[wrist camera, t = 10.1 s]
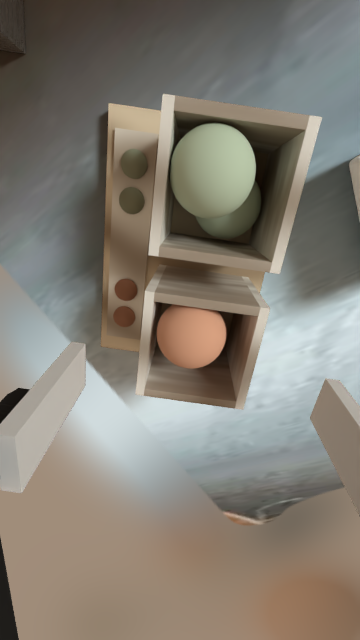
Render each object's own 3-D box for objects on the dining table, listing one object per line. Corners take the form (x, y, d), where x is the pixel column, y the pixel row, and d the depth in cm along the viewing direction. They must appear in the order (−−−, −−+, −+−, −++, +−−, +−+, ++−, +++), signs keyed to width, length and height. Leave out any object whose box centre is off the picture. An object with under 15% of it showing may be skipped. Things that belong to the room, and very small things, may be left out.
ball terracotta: (175, 311, 24) (159, 282, 20) (234, 321, 22) (230, 291, 18) (159, 367, 22) (137, 349, 18) (220, 381, 21) (213, 365, 17)
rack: (113, 107, 22) (61, 50, 14) (294, 134, 22) (356, 93, 14) (104, 341, 30) (68, 397, 21) (239, 360, 30) (257, 424, 21)
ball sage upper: (194, 154, 19) (163, 104, 15) (267, 152, 18) (257, 94, 13) (181, 226, 20) (147, 197, 15) (252, 231, 18) (237, 201, 13)
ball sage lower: (195, 162, 22) (203, 159, 18) (257, 172, 22) (279, 171, 18) (186, 228, 24) (192, 240, 20) (243, 235, 24) (260, 249, 20)
